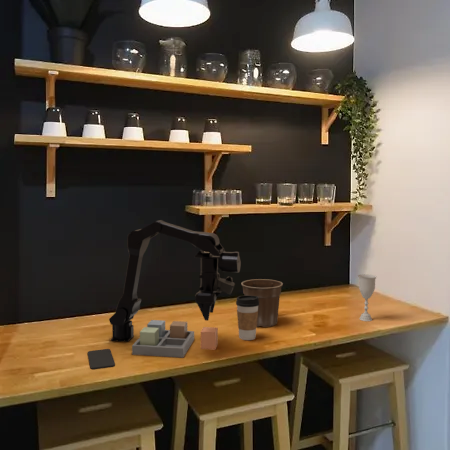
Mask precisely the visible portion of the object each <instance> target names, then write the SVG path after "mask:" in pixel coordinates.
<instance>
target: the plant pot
mask: <svg viewBox="0 0 450 450" xmlns="http://www.w3.org/2000/svg"><path fill="white" fill-rule="evenodd" d="M283 284H284V283H283V282H282V281H279V280H275V279H268V278H267V279H266V278H264V279H262V278H258V279H257V278H256V279H254V278H253V279H247V280H243V281H242V282H241V286H242V292H243V294H244V295H249V296H258V298H259V305H258V318H257V327H256V328H259V327H264V328H268V327H270V328H271V327H274V326H276V325H277V324H278V318H279V308H280V297H281V294H282V287H283ZM244 295H243V296H244Z"/></svg>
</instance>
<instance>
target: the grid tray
mask: <svg viewBox="0 0 450 450" xmlns="http://www.w3.org/2000/svg"><path fill="white" fill-rule="evenodd" d="M194 341H195V331H193V330H188V321H178V320H173V321H172V322H171V324H170V325H169V329H166V320H157V319H151V320H150V321H149V322H148V323H147V324H146V326H144V327H142V329H141V330H140V331H139V338H138V339H136V341H135V342H134V343H133V344H132V345H131V355H132V356H133V355H134V356H135V355H136V356H147V357H164V358H165V357H168V358H184V357H185V356H186V354H187V352H188V351H189V349H190V347H191V346H192V344H193V342H194Z"/></svg>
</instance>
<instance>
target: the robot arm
mask: <svg viewBox="0 0 450 450" xmlns="http://www.w3.org/2000/svg"><path fill="white" fill-rule="evenodd" d="M158 234H161V235H165V236H168V237H170V238H174V239H177V240H180V241H183V242H187V243H189V244H191V245H193V246H194V247H195V249H196V248H197V249H198V250H199V251H198V252H197V253H196V254H194V258H196V259H197V258H198V259H200V274H199V279H200V286H199V291H198V292H196V293H195V295H194V302H195V303H196V305H197V306H198V309H199V311H200V312H201V315H202V317H203V319H204V321H206V322H207V321H209V320H210V314H211V313H212V314H213V313H214V310H215V305H216V300H217V297H218V296H219V295H220V294H222V292H223V293H226V294H227V295H231V294H232V293H233V290H234V288H235V285H236V283H235V282H233V281H234V280H233V277H232V276H227V277H226V278H221V277H220V276H221V275H220V273H219V272H218V270H219V271H221V272H222V273H237V274H238V273H240V271H241V265H242V262H241V257H240V251H226V250H225V248H224V246H222V244H221V243H220V238H219V236H218V234H215V233H214V232H207V231H196V230H195V231H194V230H192V229H189V228H185V227H183V226H179V225H177V224H172V223H169V222H166V221H164V220H163V219H160V220H155V221H154V222H152V223H151V224H149V225H146V226H145V227H143V228H140V229H136V230H132V231H130V232H129V233H128V234H127V247H126V248H127V251H128V254H129V257H128V260H127V268H126V273H125V275H126V276H125V280H124V285H123V293H122V295H121V297H120V298H119V300H118V301H117V302H118V303H117V305H116V308H115V312H114V314H113V315H111V317H110V318H109V319H108V321H109V324H110V325H112V326H111V327H112V329H111V330H112V331H111V332H112V337H111V338H110V341H112V342H127V343H128V342H129V341H130V340H131V339H132V338H134V336H135V334H134V333H135V331H134V324H133V319H134V317H135V315H136V314H138V312H139V310H141V302H142V298H138V297H139V296H138V293H137V292H138V285H139V281H140V280H139V279H140V274H141V268H142V263H143V257H144V254H145V253H146V251H147V249H148V246H149V245H150V241H151V239H152V238H153V237H155V236H157V235H158Z"/></svg>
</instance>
